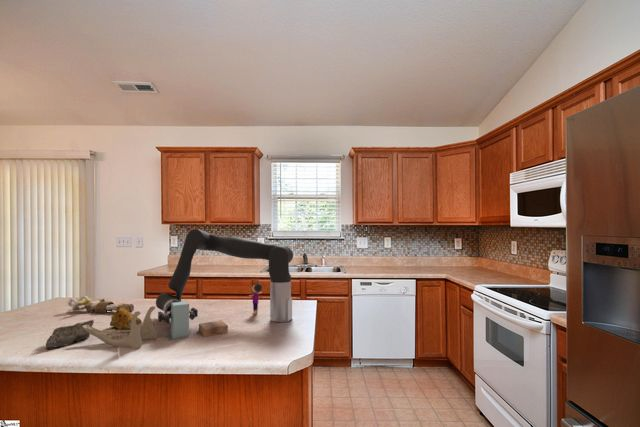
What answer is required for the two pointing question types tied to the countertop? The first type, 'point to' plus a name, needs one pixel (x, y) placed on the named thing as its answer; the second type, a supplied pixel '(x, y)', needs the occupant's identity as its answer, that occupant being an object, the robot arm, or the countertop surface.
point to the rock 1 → (68, 334)
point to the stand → (213, 328)
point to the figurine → (97, 305)
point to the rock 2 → (123, 319)
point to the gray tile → (178, 337)
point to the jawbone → (127, 332)
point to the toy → (256, 297)
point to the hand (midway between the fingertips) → (180, 318)
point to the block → (179, 319)
